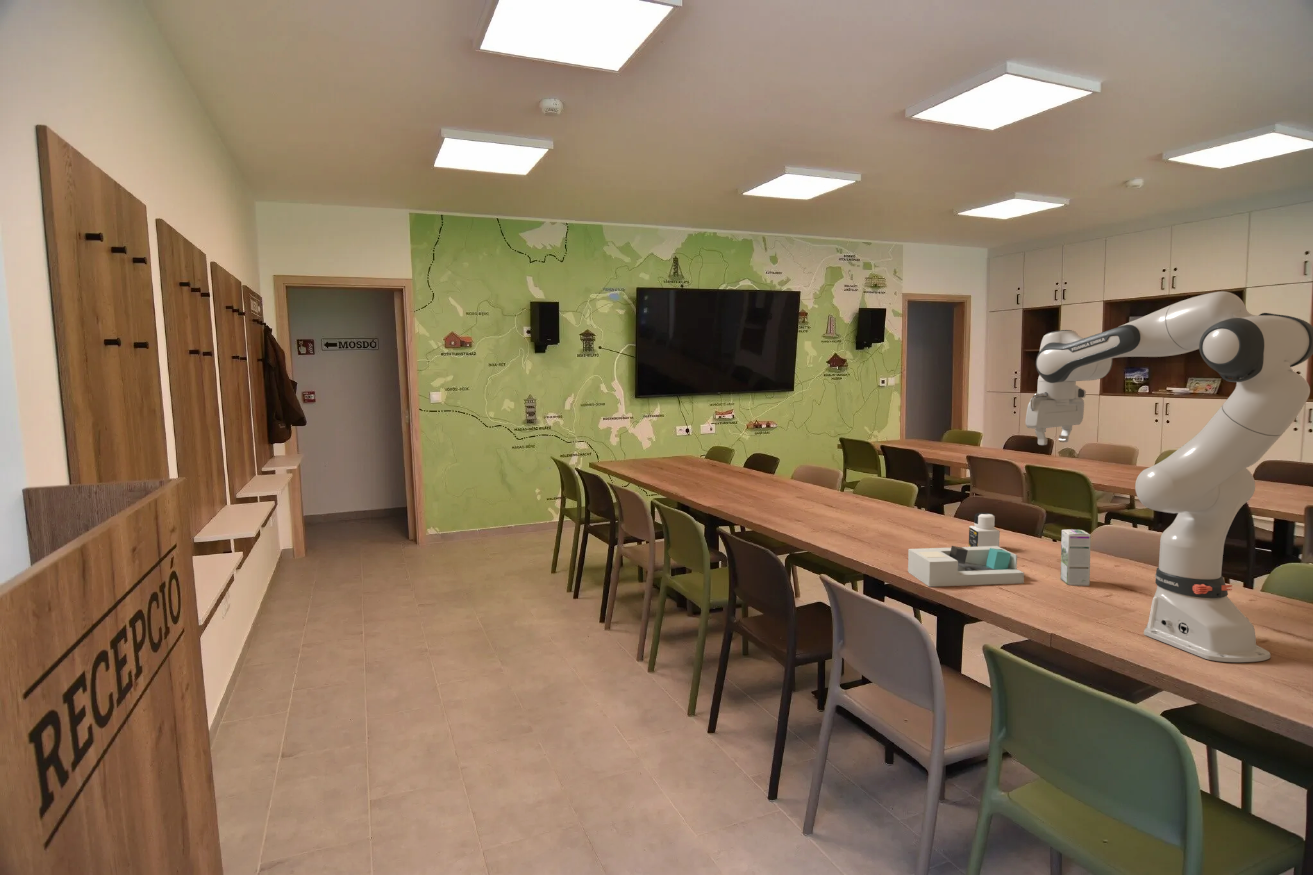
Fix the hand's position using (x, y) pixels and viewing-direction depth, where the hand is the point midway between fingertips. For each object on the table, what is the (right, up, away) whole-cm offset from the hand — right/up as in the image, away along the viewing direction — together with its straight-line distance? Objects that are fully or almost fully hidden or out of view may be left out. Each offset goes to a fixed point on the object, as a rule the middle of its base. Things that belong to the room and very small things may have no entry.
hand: (1053, 443), depth 187 cm
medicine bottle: (+2, -36, +43) cm, 56 cm away
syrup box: (+10, -39, +7) cm, 41 cm away
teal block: (-9, -36, +13) cm, 39 cm away
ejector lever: (-14, -36, +13) cm, 41 cm away
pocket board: (-18, -39, +13) cm, 45 cm away
